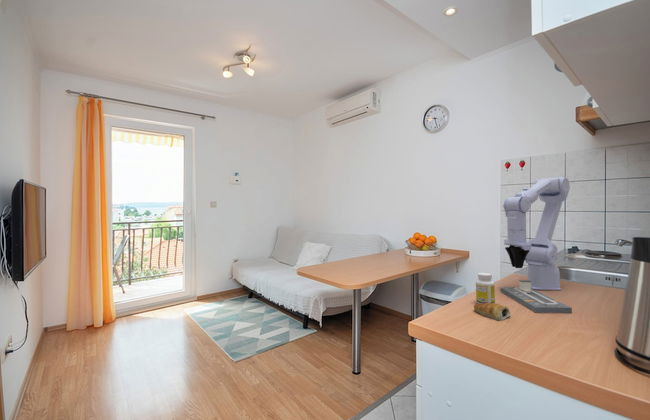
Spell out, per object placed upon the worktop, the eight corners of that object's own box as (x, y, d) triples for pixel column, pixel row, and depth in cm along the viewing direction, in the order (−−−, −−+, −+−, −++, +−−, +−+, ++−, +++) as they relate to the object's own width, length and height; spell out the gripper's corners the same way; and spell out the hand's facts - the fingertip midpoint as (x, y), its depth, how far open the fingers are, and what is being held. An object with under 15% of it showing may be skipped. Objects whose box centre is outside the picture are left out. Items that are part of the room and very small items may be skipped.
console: (529, 291, 110) (529, 285, 110) (571, 313, 88) (571, 305, 88) (500, 291, 111) (500, 285, 111) (535, 312, 90) (535, 304, 89)
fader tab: (527, 290, 105) (527, 279, 105) (532, 293, 102) (532, 281, 102) (518, 290, 106) (518, 279, 105) (522, 293, 103) (522, 281, 102)
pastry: (468, 312, 91) (468, 300, 91) (481, 308, 95) (481, 296, 95) (500, 322, 83) (500, 308, 83) (512, 317, 87) (512, 304, 87)
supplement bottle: (490, 301, 101) (489, 272, 101) (498, 306, 96) (497, 275, 95) (473, 300, 102) (473, 272, 101) (480, 306, 96) (479, 275, 96)
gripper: (495, 228, 116) (496, 263, 116) (515, 231, 102) (516, 271, 102) (515, 228, 115) (515, 263, 116) (537, 231, 101) (538, 271, 101)
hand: (517, 267), depth 109 cm, fingers closed
